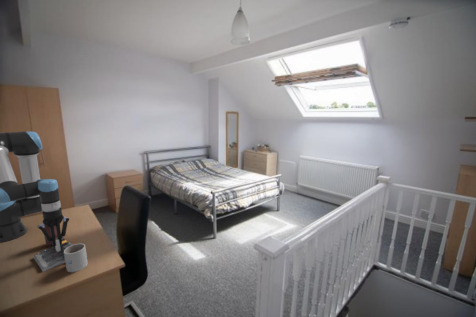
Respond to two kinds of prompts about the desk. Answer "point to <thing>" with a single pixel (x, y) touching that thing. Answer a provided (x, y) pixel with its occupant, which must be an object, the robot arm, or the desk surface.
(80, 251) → the mug
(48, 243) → the can
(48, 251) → the panel
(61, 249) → the block
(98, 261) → the desk surface
